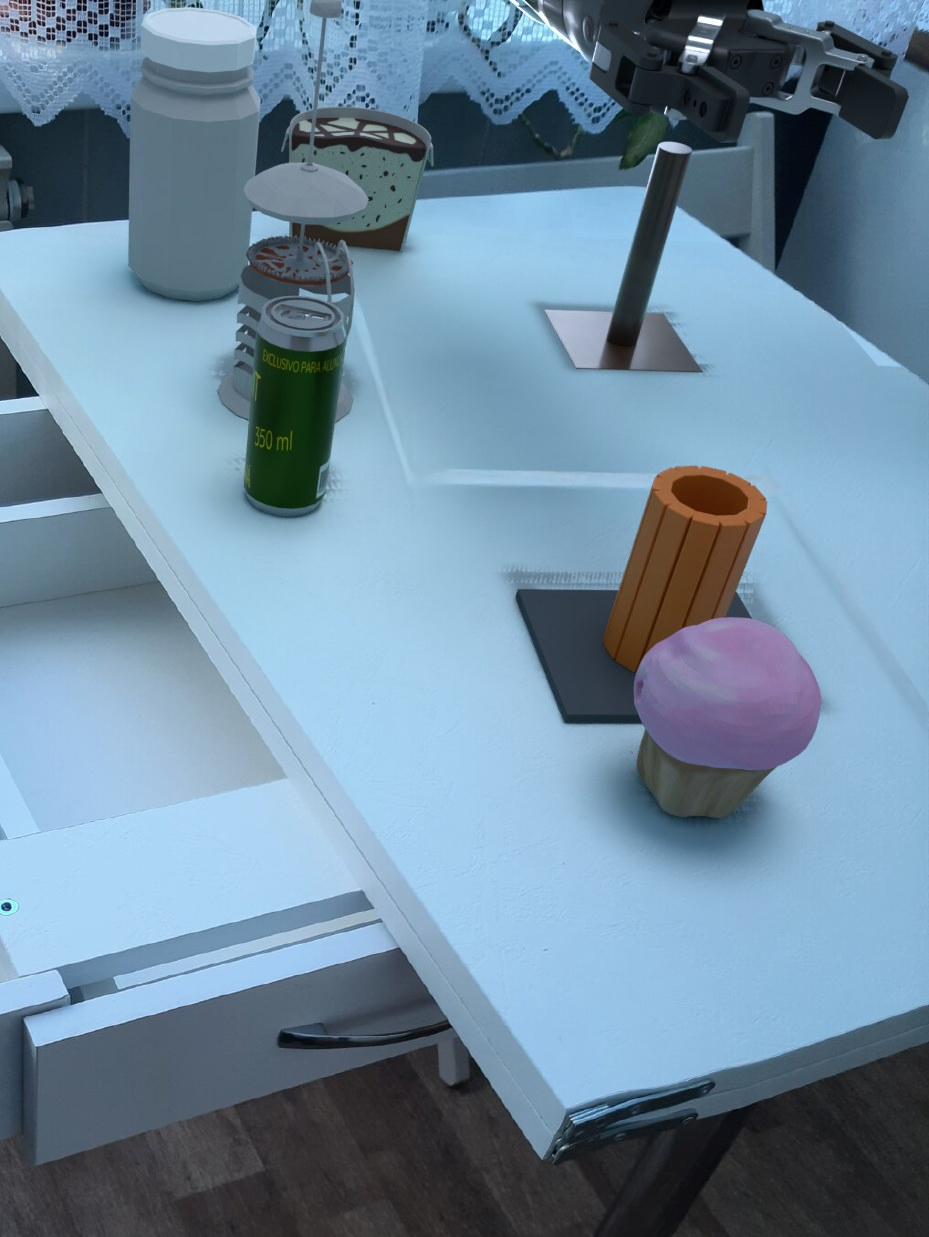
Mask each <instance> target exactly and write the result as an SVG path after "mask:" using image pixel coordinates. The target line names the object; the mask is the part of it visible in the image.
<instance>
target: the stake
mask: <svg viewBox="0 0 929 1237" xmlns="http://www.w3.org/2000/svg"><path fill="white" fill-rule="evenodd" d="M692 154H693V149H692V148H691V147H690V146H688V145H686V144H683V143H680V142H675V141H663V142H660V143H659V144H658V145H657V148H656V152H655V155H654V158H653V159H654V160H653V163H652V167H651V170H650V174H649V177H648V182H647V185H646V189H645V192H644V196H643V199H642V204H641V208H640V211H639V215H638V218H637V222H636V226H635V229H634V232H633V238H632V239H631V244H630V248H629V251H628V255H627V258H626V262H625V267H624V270H623V273H622V277H621V281H620V285H619V288H618V292H617V295H616V299H615V303H614V307H613V311H598V310H597V311H593V310H567V309H566V310H565V309H544V310H543V311H544V313H545V315H546V316H547V318H548V320H549V322H550V324H551V326H552V327H553V329H554V331H555V334H556V335H557V336H558V339H559V340H560V342H561V344H562V346H563V348H564V350H565V351H566V354H567V355H568V357H569V358H570V361H571V362H572V364H573V366H574V367H575V369H576V370H577V369H578V370H610V371H611V370H612V371H637V372H639V371H640V372H641V371H642V372H645V371H646V372H675V373H676V372H677V373H704V372H703V370H702V368H701V367H700V366H699V365H700V364H698V362H697V361H696V360H695V358H694V356H693V355H692V354H691V352H690V350H689V349H688V348H687V347H686V346H687V345H685V343H684V341H683V340H682V339H681V338H680V336H679V334H678V333H677V331H676V330H675V328H674V327H673V326H672V324H671V323H670V321H669V320H668V318H667V316H666V315H665V313H655V312H654V313H649V312H647V309H648V306H649V303H650V299H651V296H652V292H653V289H654V286H655V282H656V278H657V274H658V272H659V268H660V264H661V261H662V257H663V254H664V250H665V248H666V244H667V240H668V236H669V233H670V230H671V226H672V223H673V220H674V217H675V212H676V209H677V206H678V202H679V198H680V196H681V192H682V189H683V185H684V181H685V178H686V174H687V171H688V167H689V164H690V161H691V157H692Z"/></svg>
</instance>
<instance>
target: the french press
mask: <svg viewBox="0 0 929 1237" xmlns="http://www.w3.org/2000/svg"><path fill="white" fill-rule="evenodd" d="M342 11H343V6H342V0H311V1H310V5H309V13H310V15H313V16H316V17H318V18H321V19H322V20H321V29H320V40H319V49H318V59H317V67H316V68H317V69H316V79H315V89H314V99H313V108H312V109H313V116H312V126H311V136H310V146H309V155H308V163H289V162H285V163H281V164H278V165H275V166H272V167H270V168H267V169H265V170H263V171H261V172H259V173H258V174H255V177H253V178H251V179H250V180H248V182H247V183H246V185H245V187H244V188H243V190H244V193H245V195H246V197H247V200H248V202H249V204H250V206H252V209H255V210H256V211H258V212H259V213H260V214H263V215H265V216H268V217H270V218H274V219H277V220H279V221H282V222H288V223H289V222H294V223H300V224H301V233H300V236H299V237H297V235H296V236H294V237H292V235H290V236H288V235H284V236H283V235H278V236H275V237H274V236H270V237H267V238H262V239H260V240H259V241H256V242H255V243H252V244H251V245H250V246H249V249H248V251H247V254H246V256H247V258H248V263H249V264H248V266H246V267H244V269H243V271H242V273H241V275H240V284H239V286H238V296H237V297H238V298H237V305H244V306H243V308H242V309H240V310H239V311H238V312H237V313H236V324H242V325H241V326H240V327H239V328H238V329H237V330H235V342H238V343H239V342H240V343H239V344H238V345H237V346H236V347H235V349H234V351H233V358H234V359H233V360H238V361H237V362H236V363H235V364H234V365H233V367H232V371H230V372H229V373H228V374H226V375H224V377H222V379H221V381H220V384H219V385H218V388H217V394H218V396H219V398H220V401H221V403H222V404H223V405H224V407H226V408H228V409H229V410H230V411H231V412H232V413H234V414H235V415H236V416H238V417H240V418H243V419H246V420H247V421H249V410H250V398H251V386H252V374H253V362H254V350H255V337H256V325H257V323H258V321H259V319H260V318H261V316H262V313H261V312H262V307H263V306H264V304H265V303H266V302H268V301H270V300H272V299H274V298H279V297H283V296H300V291H301V290H303V291H306V292H309V293H311V294H315V295H325V296H327V300H326V301H327V302H329V303H332V304H333V305H335V306H336V307H338V308H339V309H340V310H341V311H342V312H343V314H344V328H345V332H346V342H345V349H344V357H343V365H342V372H341V380H340V388H339V395H338V403H337V411H336V418H335V423H337V422H338V421H340V420H341V419H342V418H344V417H345V416H347V415H348V414H350V412H351V408H352V405H353V403H354V399H353V397H352V394H351V393H350V391H349V389H348V388H347V386H346V384H344V382H343V381H342V378H343V371H344V364H345V355H346V347H347V341H348V336H349V334H350V331H351V328H352V324H353V323H352V322H353V314H354V305H355V296H356V295H355V292H356V289H355V280H354V270H353V264H354V261H353V260H352V258H351V254H350V251H349V249H348V246H346V243H345V241H343V240H340V242H339V243H338V246H337V247H336V245H334V246H333V245H332V244H333V243H332V244H328V242H327V243H324V241H322V242H321V241H320V239H319V240H315V239H314V240H312V239H311V238H310V237H309V239H306V236H305V237H304V230H305V224H315V225H329V224H335V223H340V222H346V221H349V220H350V219H352V218H353V217H355V216H357V215H358V214H360V213H361V212H362V211H363V210H364V209H365V208H366V205H367V203H368V200H369V199H368V197H367V196H366V194H365V193H364V191H363V190H362V189H361V188H360V187H359V186H358V185H357V184H356V183H355V182H353V181H352V180H351V179H350V178H349V177H348V176H347V175H346V174H344V173H341V172H339V171H337V170H334V169H332V168H328V167H325V166H322V165H319V164H315V163H312V154H313V144H314V134H315V125H316V115H317V108H318V106H319V104H318V103H319V97H320V96H319V95H320V87H321V84H320V83H321V77H322V67H323V58H324V48H325V38H326V30H327V29H326V28H327V19H336V18H339V17H341V15H342ZM341 245H342V246H341ZM340 294H346V295H347V296H345V297H343V298H342V299H339V300H338V301H334V302H332V295H340ZM244 350H245V351H244Z"/></svg>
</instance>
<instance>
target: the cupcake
mask: <svg viewBox="0 0 929 1237" xmlns="http://www.w3.org/2000/svg"><path fill="white" fill-rule="evenodd" d="M634 704H635V707H636V709H637V712H638V714H639V717H640V719H641V721H642V725H643V727H644V731H643V734H642V738H641V741H640V744H639V748H638V752H637V757H636V765H635V766H636V771H637V774H638V776H639V778H640V780H641V781H642V783H643V784H644V785H645V787H646V789H647V790H648V791H650V793H651V794H652V796H653V798H655V800H656V801H657V804H658V806H659V808H660V809H661V810H662V811H664V812H666V813H668V814H669V815H672V816H675V817H680V818H688V817H699V816H702V817H708V818H712V819H725V818H726V817H729V816H731V815H732V813H734V812H735V811H736V810H737V809H738V808H739V807H740V806H741V805H742V804H743V803H744V802H745V801H746V800H747V798H748V797H749V796H750V795H751V794H752V793H753V792H754V791H755V790H756V789H757V787H759V785H760V784H761V783H762V782H763V781H764V780H765V779H766V778H767V777H768V776H769V775H770V774H771V773H772V772H773V771H774V770H776V769H777V768H778V767H780V766H783V765H784V764H787V763H788V762H790V761H792V760H793V759H796V757H798V756H799V755H801V754H803V752H804V751H805V750H806V749H807V748H808V746H809V745H810V743H811V742H812V740H813V737H814V736H815V733H816V731H817V727H818V723H819V719H820V714H821V709H822V708H821V707H822V694H821V689H820V686H819V683H818V681H817V679H816V676H815V674H814V671H813V670H812V668H811V666H810V664H809V663H808V661H807V660H806V659H805V658H804V657H803V656H802V655H801V654H800V653H799V651H798V648H797V647H796V646H795V644H794V643H793V641H791V639H790V638H788V636H787V635H786V634H784V633H783V632H782V631H780V630H779V629H777V627H774V626H773V625H770V624H768V623H766V622H764V621H761V620H758V619H754V618H752V619H750V618H734V617H727V618H717V619H711V620H708V621H706V622H703V623H701V624H699V625H693V626H689V627H685V628H683V629H681V630H679V631H678V632H676V633H675V634H673V635H671V636H670V637H668V638H667V639H664V640H662V641H660V642H659V643H657V644H656V645H655V646H654V647H653V648H651V649H650V650H649V651H648V652H647V654H646V655H645V656H644V657H643V659H642V661H641V663H640V666H639V668H638V670H637V673H636V676H635V680H634Z"/></svg>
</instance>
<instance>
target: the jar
mask: <svg viewBox="0 0 929 1237" xmlns="http://www.w3.org/2000/svg"><path fill="white" fill-rule="evenodd" d="M140 32H141V33H140V53H142V54H143V55H144V56H145V57H144V58H143V59H142V62H141V65H140V68H139V73H141V77H140V78H139V79H138V81H137V82H136V84H135V85H134V86H133V89H132V92H131V95H130V105H129V106H130V108H129V110H130V111H129V112H130V113H129V114H130V115H129V116H130V118H129V177H128V179H129V180H128V182H129V183H128V184H129V185H128V186H129V187H128V190H129V192H128V198H129V199H128V243H127V244H128V248H127V249H128V252H127V253H128V256H127V266H128V268H129V269H130V271H131V272H132V273H133V274H134V276H135V277H136V279H137V280H138V281H139V282H140V284H142V285H143V286H144V287H145V288H146V289H147V290H148V291H149V292H151V293H155V294H157V295H159V296H163V297H165V298H168V299H170V300H171V299H172V300H182V301H190V302H201V301H202V302H203V301H209V300H215V299H217V300H218V299H222V298H223V297H225V296H227V295H228V294H231V293H232V292H234V291H236V290H237V289H238V288H239V284H240V275H241V273H242V271H243V269H244V267H246V266H248V265H249V260H248V258H247V256H246V254H247V251H248V249H249V247H250V246H251V245H250V244H251V232H252V220H253V207H252V206H250V204H249V202H248V200H247V197H246V195H245V193H244V190H243V188H244V187H245V185H246V183H247V182H248V180H250V179H251V178H253V177H255V176H256V167H257V154H258V142H259V141H258V140H259V126H260V115H261V102H262V99H261V98H260V96H259V94H258V92H257V90H256V89H255V87H254V85H253V81H254V76H255V70H254V68H252V67H251V65H253V64H254V62H255V56H256V45H257V33H258V28H257V27H256V25H254V24H252V23H251V22H250V21H248V20H246V18H243V17H242V16H239V15H237V14H233V13H229V12H226V11H223V10H222V11H221V10H219V9H211V8H210V9H209V8H200V7H192V6H188V7H170V8H169V7H168V8H162V9H159V10H156V11H153V12H150V13H147V14H146V15H144V17H143V19H142V22H141V25H140Z"/></svg>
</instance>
